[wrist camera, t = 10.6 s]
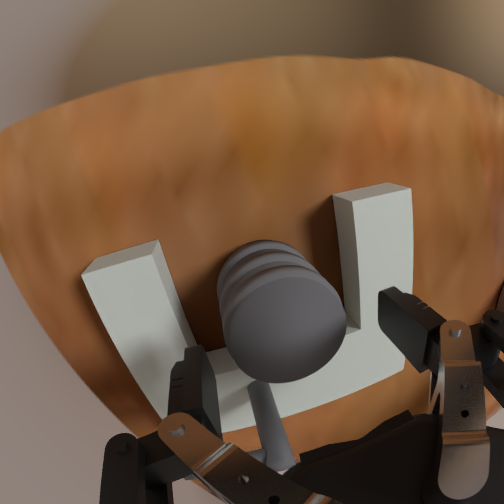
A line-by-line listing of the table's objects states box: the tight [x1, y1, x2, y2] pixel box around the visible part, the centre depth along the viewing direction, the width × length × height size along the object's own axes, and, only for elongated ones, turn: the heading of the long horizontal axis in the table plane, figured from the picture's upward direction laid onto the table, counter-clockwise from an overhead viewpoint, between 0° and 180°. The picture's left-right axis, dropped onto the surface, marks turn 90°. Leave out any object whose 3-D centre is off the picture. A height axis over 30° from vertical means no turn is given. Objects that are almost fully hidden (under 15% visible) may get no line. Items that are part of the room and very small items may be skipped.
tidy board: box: [81, 183, 413, 480], centre depth 14 cm, size 18×14×8 cm
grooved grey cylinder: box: [217, 240, 347, 383], centre depth 14 cm, size 5×5×6 cm
